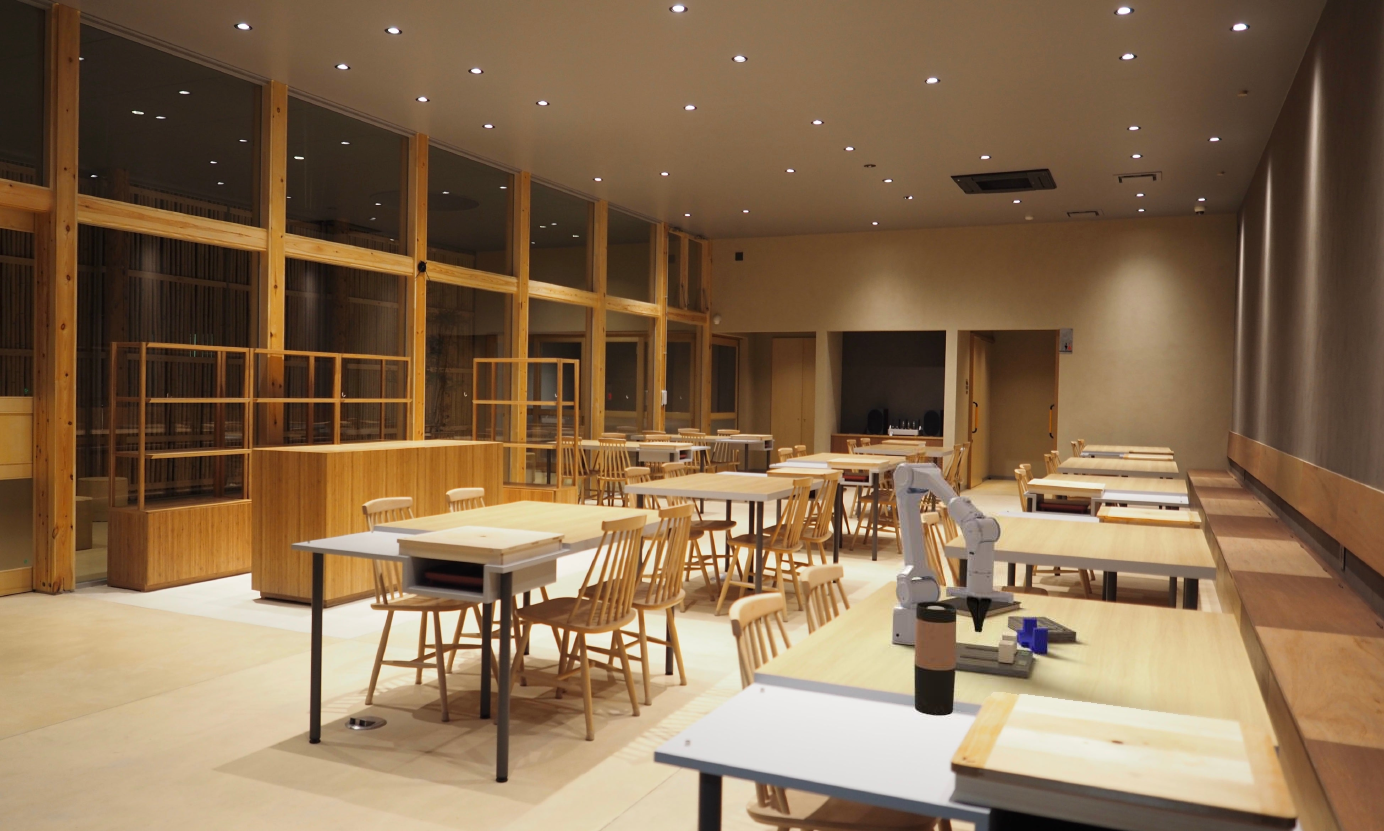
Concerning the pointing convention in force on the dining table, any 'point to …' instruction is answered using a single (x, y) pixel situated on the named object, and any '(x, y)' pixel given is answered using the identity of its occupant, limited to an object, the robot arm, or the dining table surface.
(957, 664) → the breaker panel
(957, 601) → the hardcover book
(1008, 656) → the breaker
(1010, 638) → the on breaker
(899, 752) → the dining table surface
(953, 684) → the travel mug
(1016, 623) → the grey flat block
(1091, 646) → the dining table surface
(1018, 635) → the cable clip
